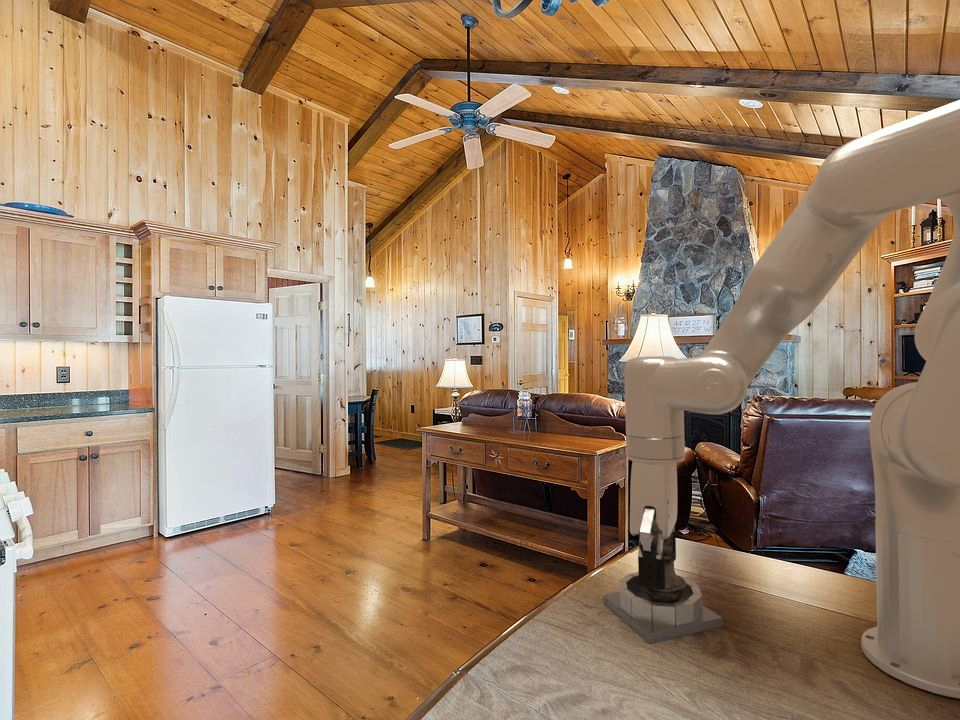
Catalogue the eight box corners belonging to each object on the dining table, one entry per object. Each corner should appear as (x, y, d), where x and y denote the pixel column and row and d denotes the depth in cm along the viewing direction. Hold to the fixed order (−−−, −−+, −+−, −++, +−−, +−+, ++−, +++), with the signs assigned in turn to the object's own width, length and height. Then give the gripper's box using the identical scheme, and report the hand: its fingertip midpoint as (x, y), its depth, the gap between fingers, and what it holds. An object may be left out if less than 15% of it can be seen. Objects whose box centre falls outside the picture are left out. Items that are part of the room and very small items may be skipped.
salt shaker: (668, 622, 67) (666, 529, 67) (631, 604, 72) (629, 518, 72) (695, 608, 71) (693, 519, 70) (658, 592, 76) (656, 509, 75)
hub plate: (668, 590, 79) (667, 565, 79) (722, 626, 68) (721, 598, 68) (603, 603, 75) (602, 577, 75) (649, 643, 65) (648, 613, 65)
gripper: (639, 435, 81) (642, 546, 81) (611, 458, 65) (615, 594, 66) (691, 438, 77) (694, 553, 78) (675, 462, 62) (679, 606, 62)
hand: (658, 572), depth 72 cm, fingers open, 9 cm apart
